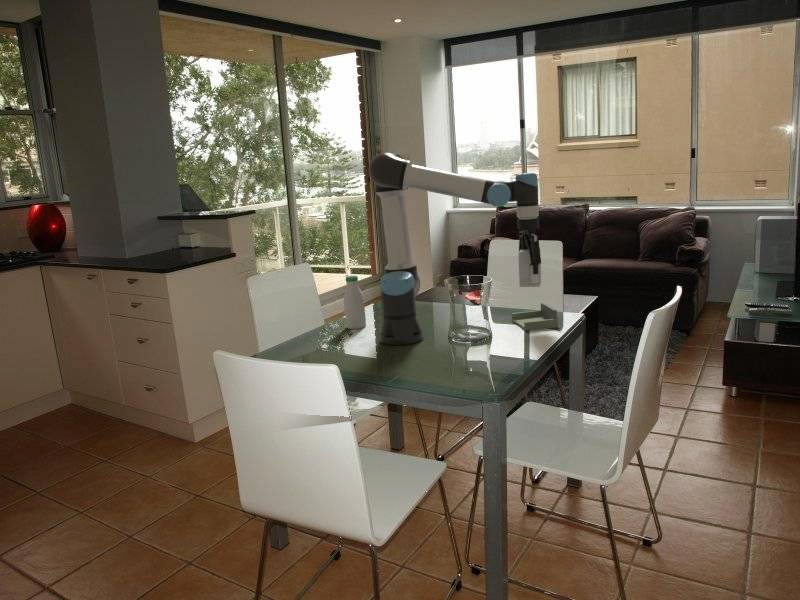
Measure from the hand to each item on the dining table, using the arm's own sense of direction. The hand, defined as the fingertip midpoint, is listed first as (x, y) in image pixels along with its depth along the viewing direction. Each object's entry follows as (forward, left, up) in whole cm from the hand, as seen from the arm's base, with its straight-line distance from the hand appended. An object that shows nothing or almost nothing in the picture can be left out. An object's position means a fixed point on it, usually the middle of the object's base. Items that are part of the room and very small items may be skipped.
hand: (530, 280), depth 233 cm
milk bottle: (-62, +25, -17) cm, 69 cm away
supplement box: (0, 0, -2) cm, 2 cm away
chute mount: (+1, 0, -16) cm, 16 cm away
